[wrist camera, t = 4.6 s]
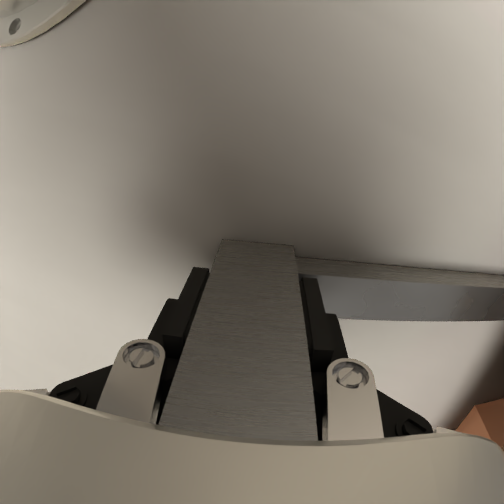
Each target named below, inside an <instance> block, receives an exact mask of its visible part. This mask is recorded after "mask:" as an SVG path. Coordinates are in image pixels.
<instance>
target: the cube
mask: <svg viewBox="0 0 504 504" xmlns="http://www.w3.org/2000/svg"><path fill="white" fill-rule="evenodd" d="M455 431H457V432H461V433H466V434H471V435H478V436H482V437H485V438H488V439H490V440H492V441H494V442H495V443H497V444H498V445H499V446H500V447H501V448H502V447H503V446H504V398H503V399H499V400H495V401H491V402H487V403H482V404H478V405H475V406H474V407H473V408H472V410H471V411H470V412H469V414H468V415H467V416H466V418H465V419H464V420H463V421H462V423H461V424H460V425H459V426H458V428H457V429H456V430H455Z"/></svg>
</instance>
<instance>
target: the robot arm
mask: <svg viewBox="0 0 504 504" xmlns="http://www.w3.org/2000/svg"><path fill="white" fill-rule="evenodd" d="M85 1H86V0H0V47H6V46H14V45H17V44H20V43H23V42H26V41H29V40H30V39H32V38H34V37H36V36H38V35H40V34H42V33H44V32H46V31H47V30H48V29H50V28H51V27H53V26H54V25H56V24H57V23H59V22H60V21H61V20H63V19H65V18H66V17H67V16H68V15H69V14H70V13H72V12H73V11H74V10H75V9H76V8H78V7H79V6H80V5H81V4H83V3H84V2H85ZM209 275H210V272H209V269H208V268H199V267H193V269H192V271H191V273H190V275H189V277H188V279H187V282H186V284H185V286H184V288H183V290H182V292H181V294H180V296H179V299H170V298H169V299H168V300H167V301H166V303H165V305H164V307H163V309H162V311H161V313H160V315H159V317H158V319H157V321H156V323H155V325H154V327H153V329H152V331H151V333H150V335H149V337H148V339H137V340H132V341H130V342H128V343H126V344H125V345H123V346H122V347H121V348H120V350H119V352H118V354H117V356H116V359H115V361H114V364H113V365H110V366H107V367H105V368H102V369H99V370H97V371H94V372H91V373H88V374H86V375H83V376H80V377H77V378H74V379H71V380H69V381H66V382H63V383H61V384H59V385H57V386H56V387H55V388H54V389H53V390H52V391H51V392H48V391H47V389H36V390H0V504H504V451H503V450H502V449H501V447H500V446H499V445H498V444H497V443H495V442H494V441H492V440H490V439H488V438H485V437H482V436H478V435H471V434H466V433H461V432H457V431H453V430H450V429H446V428H442V427H439V426H437V428H436V429H432V426H431V425H430V423H429V422H428V421H427V420H426V419H425V418H423V417H422V416H420V415H419V414H417V413H415V412H413V411H412V410H410V409H408V408H407V407H405V406H403V405H402V404H400V403H398V402H397V401H395V400H393V399H392V398H390V397H388V396H387V395H385V394H384V393H382V392H380V391H379V390H377V389H376V385H375V379H374V375H373V373H372V370H371V369H370V368H369V367H368V366H367V365H366V364H364V363H363V362H361V361H358V360H356V359H351V358H348V355H347V351H346V347H345V343H344V340H343V336H342V332H341V329H340V325H339V321H338V318H337V315H336V314H331V313H326V312H325V308H324V304H323V300H322V296H321V292H320V288H319V284H318V280H317V278H308V277H302V278H301V281H299V286H300V293H301V300H302V307H303V314H304V321H305V329H306V337H307V344H308V352H309V361H310V369H311V377H312V386H313V395H314V405H315V414H316V424H317V434H318V441H298V440H272V439H257V438H244V437H234V436H225V435H217V434H209V433H202V432H195V431H189V430H183V429H177V428H171V427H166V426H161V425H158V424H159V421H160V418H161V415H162V412H163V409H164V406H165V403H166V399H167V396H168V393H169V390H170V387H171V384H172V381H173V378H174V375H175V372H176V369H177V366H178V363H179V360H180V357H181V354H182V351H183V349H184V346H185V343H186V340H187V337H188V334H189V331H190V328H191V325H192V322H193V320H194V317H195V314H196V311H197V308H198V305H199V303H200V300H201V297H202V294H203V291H204V289H205V286H206V283H207V280H208V278H209Z"/></svg>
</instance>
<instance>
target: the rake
mask: <svg viewBox="0 0 504 504" xmlns="http://www.w3.org/2000/svg"><path fill="white" fill-rule="evenodd" d="M302 277H308V278H317V280H318V284H319V288H320V292H321V296H322V300H323V304H324V308H325V312H326V313H331V314H336V315H337V318H341V319H362V320H390V321H497V320H504V276H503V275H492V274H481V273H469V272H458V271H447V270H436V269H425V268H414V267H403V266H392V265H380V264H369V263H358V262H347V261H336V260H325V259H314V258H303V257H295V253H294V246H290V245H279V244H269V243H258V242H246V241H235V240H224V239H222V242H221V245H220V248H219V250H218V253H217V256H216V258H215V261H214V264H213V267H212V269H211V272H210V275H209V278H208V280H207V283H206V286H205V289H204V291H203V294H202V297H201V300H200V303H199V305H198V308H197V311H196V314H195V317H194V320H193V322H192V325H191V328H190V331H189V334H188V337H187V340H186V343H185V346H184V349H183V351H182V354H181V357H180V360H179V363H178V366H177V369H176V372H175V375H174V378H173V381H172V384H171V387H170V390H169V393H168V396H167V399H166V403H165V406H164V409H163V412H162V415H161V418H160V421H159V424H158V425H161V426H166V427H171V428H177V429H183V430H189V431H195V432H202V433H209V434H217V435H225V436H234V437H244V438H257V439H272V440H298V441H318V434H317V424H316V414H315V405H314V395H313V386H312V377H311V369H310V361H309V352H308V344H307V337H306V329H305V321H304V314H303V307H302V300H301V293H300V286H299V281H301V278H302Z"/></svg>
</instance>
